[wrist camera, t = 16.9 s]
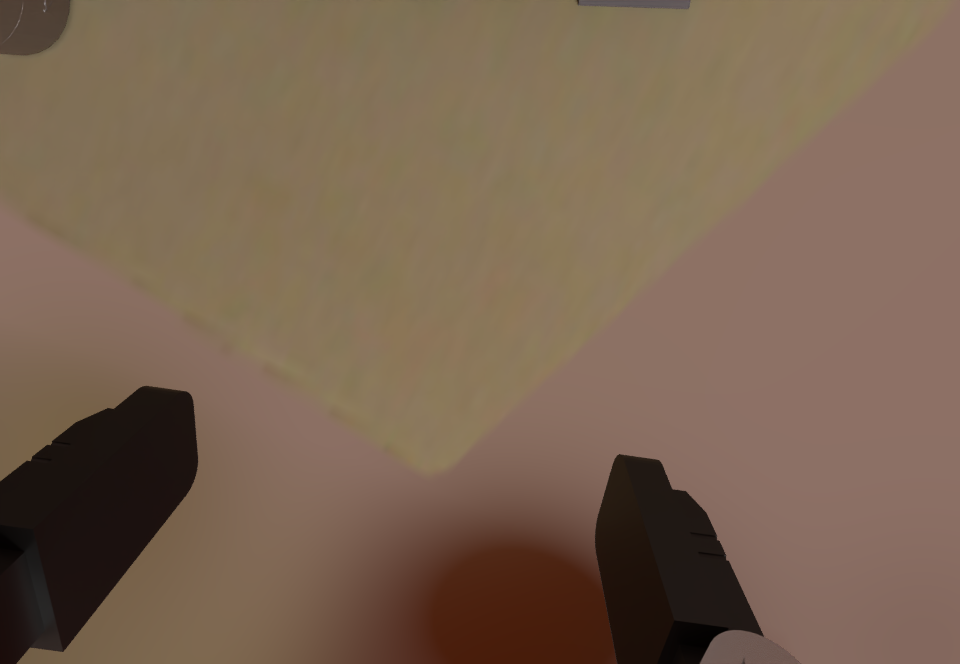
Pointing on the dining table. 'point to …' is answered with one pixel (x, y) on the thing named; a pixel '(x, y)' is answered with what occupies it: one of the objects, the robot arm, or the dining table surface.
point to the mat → (638, 3)
